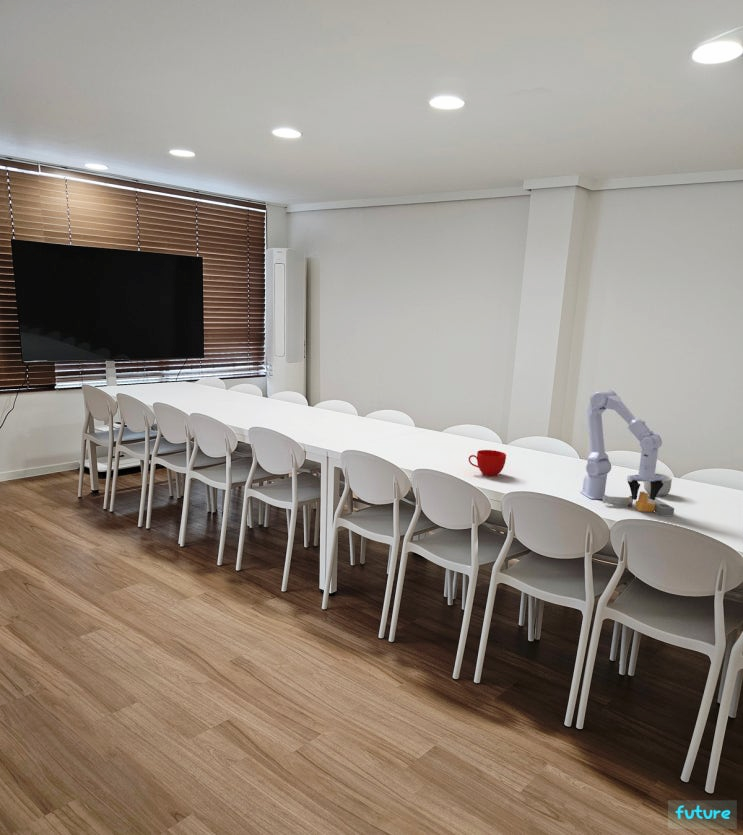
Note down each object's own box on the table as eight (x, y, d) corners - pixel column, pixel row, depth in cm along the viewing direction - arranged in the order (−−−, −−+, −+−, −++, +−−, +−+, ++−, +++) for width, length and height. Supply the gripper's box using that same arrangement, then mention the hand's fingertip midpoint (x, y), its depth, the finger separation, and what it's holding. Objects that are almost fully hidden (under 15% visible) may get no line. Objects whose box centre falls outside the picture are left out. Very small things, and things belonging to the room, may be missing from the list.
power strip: (637, 502, 251) (638, 494, 250) (649, 502, 251) (650, 494, 251) (661, 515, 235) (662, 507, 235) (673, 515, 236) (674, 507, 235)
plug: (635, 508, 242) (637, 491, 241) (648, 508, 243) (650, 491, 242) (640, 511, 238) (643, 494, 237) (654, 511, 239) (656, 494, 238)
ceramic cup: (463, 470, 286) (465, 449, 284) (499, 471, 287) (501, 450, 286) (471, 478, 273) (472, 456, 271) (508, 478, 275) (510, 457, 273)
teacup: (675, 497, 260) (678, 479, 259) (652, 498, 258) (655, 479, 256) (653, 488, 273) (656, 470, 272) (632, 488, 271) (634, 470, 270)
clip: (631, 505, 245) (632, 495, 244) (632, 506, 244) (634, 497, 243) (601, 504, 245) (603, 494, 244) (603, 505, 243) (604, 495, 242)
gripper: (636, 467, 232) (631, 502, 234) (671, 468, 234) (666, 502, 237) (626, 463, 239) (621, 496, 241) (660, 463, 241) (655, 497, 243)
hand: (643, 499), depth 239 cm, fingers open, 7 cm apart
